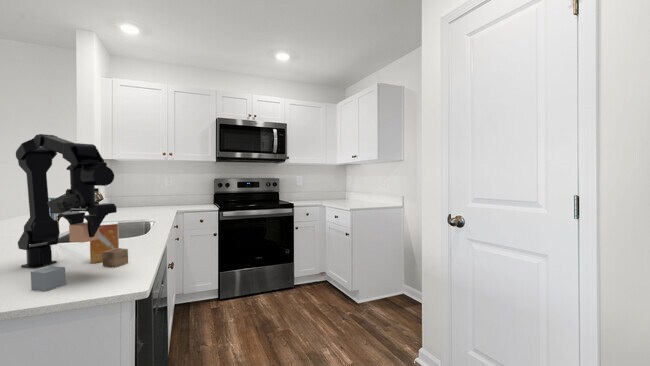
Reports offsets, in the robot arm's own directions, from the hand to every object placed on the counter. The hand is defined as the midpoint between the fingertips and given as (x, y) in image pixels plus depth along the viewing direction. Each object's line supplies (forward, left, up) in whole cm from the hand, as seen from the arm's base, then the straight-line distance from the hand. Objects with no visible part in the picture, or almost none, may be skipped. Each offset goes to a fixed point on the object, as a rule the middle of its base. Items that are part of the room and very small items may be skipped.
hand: (84, 236), depth 92 cm
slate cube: (0, -10, -12) cm, 15 cm away
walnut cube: (0, +10, -12) cm, 15 cm away
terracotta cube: (0, 0, -1) cm, 1 cm away
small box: (-9, +14, -12) cm, 21 cm away
